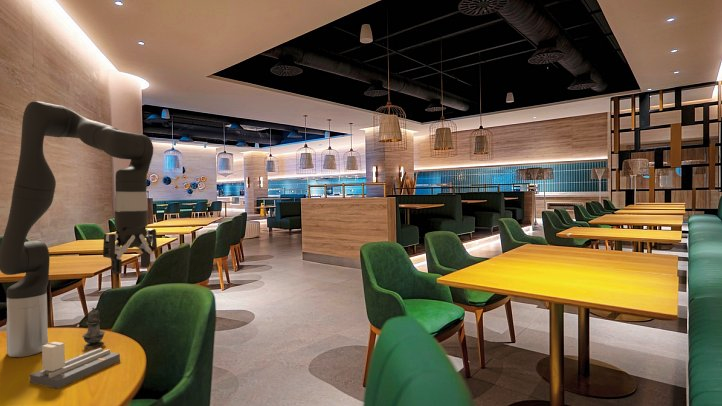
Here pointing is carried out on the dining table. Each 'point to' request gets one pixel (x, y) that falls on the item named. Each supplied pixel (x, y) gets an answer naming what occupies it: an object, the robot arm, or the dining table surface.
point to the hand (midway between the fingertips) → (131, 270)
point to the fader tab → (53, 356)
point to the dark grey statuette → (93, 331)
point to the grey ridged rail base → (76, 368)
